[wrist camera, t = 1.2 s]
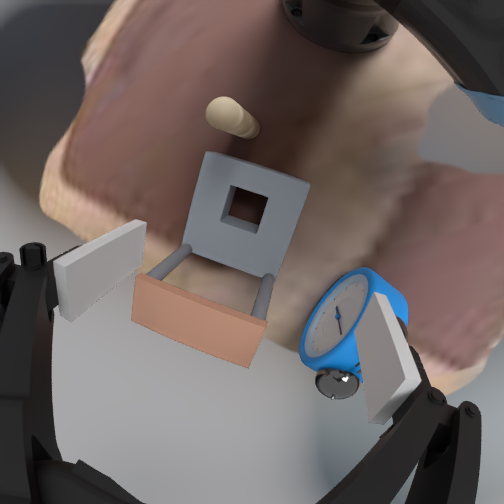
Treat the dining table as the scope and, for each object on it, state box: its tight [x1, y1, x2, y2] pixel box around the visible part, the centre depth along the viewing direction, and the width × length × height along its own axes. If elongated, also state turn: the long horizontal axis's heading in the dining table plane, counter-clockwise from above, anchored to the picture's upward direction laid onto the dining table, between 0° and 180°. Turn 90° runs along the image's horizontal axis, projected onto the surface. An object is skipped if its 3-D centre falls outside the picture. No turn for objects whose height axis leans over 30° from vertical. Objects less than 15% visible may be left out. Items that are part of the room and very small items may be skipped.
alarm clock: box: [299, 267, 408, 400], centre depth 30 cm, size 13×6×15 cm, turn 146°
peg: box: [206, 97, 260, 139], centre depth 26 cm, size 3×3×12 cm
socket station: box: [131, 151, 311, 368], centre depth 29 cm, size 16×12×15 cm
